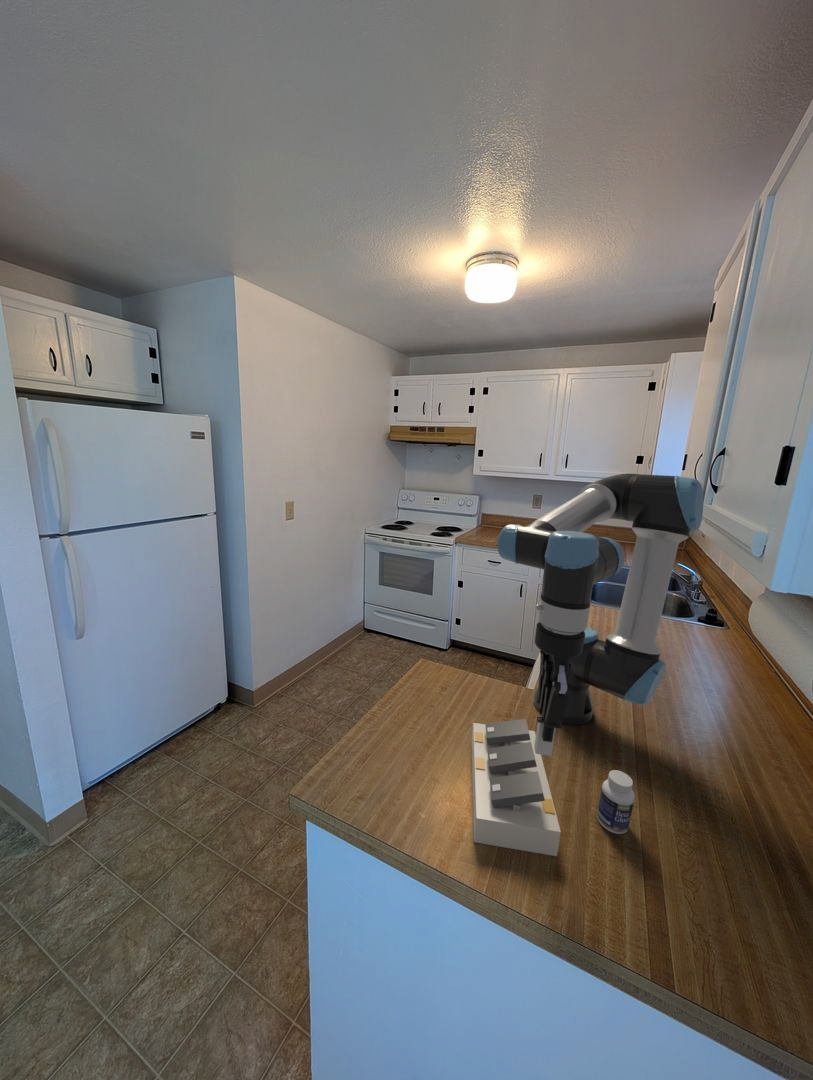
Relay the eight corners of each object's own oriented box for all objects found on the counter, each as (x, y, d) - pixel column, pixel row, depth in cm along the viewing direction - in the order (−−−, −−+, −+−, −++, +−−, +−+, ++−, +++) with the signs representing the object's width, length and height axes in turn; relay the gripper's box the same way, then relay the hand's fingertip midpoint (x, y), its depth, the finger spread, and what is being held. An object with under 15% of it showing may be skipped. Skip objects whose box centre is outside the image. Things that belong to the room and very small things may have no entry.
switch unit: (532, 750, 95) (535, 726, 93) (556, 856, 69) (561, 826, 68) (471, 741, 96) (473, 718, 95) (473, 842, 71) (477, 812, 70)
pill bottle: (614, 839, 73) (623, 793, 71) (590, 815, 78) (597, 771, 76) (635, 829, 75) (644, 784, 73) (610, 806, 80) (618, 763, 78)
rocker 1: (526, 725, 91) (525, 718, 91) (530, 740, 86) (529, 732, 86) (486, 729, 92) (485, 722, 92) (487, 744, 88) (486, 737, 87)
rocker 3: (539, 778, 75) (537, 770, 75) (545, 800, 70) (542, 792, 70) (491, 785, 77) (489, 777, 77) (493, 807, 72) (491, 799, 72)
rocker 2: (532, 748, 83) (530, 741, 83) (536, 766, 78) (534, 758, 78) (489, 755, 85) (487, 748, 84) (490, 773, 80) (488, 766, 80)
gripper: (531, 609, 73) (516, 725, 78) (544, 640, 61) (526, 776, 65) (574, 613, 72) (556, 730, 77) (597, 646, 60) (574, 784, 65)
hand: (542, 751), depth 71 cm, fingers closed
